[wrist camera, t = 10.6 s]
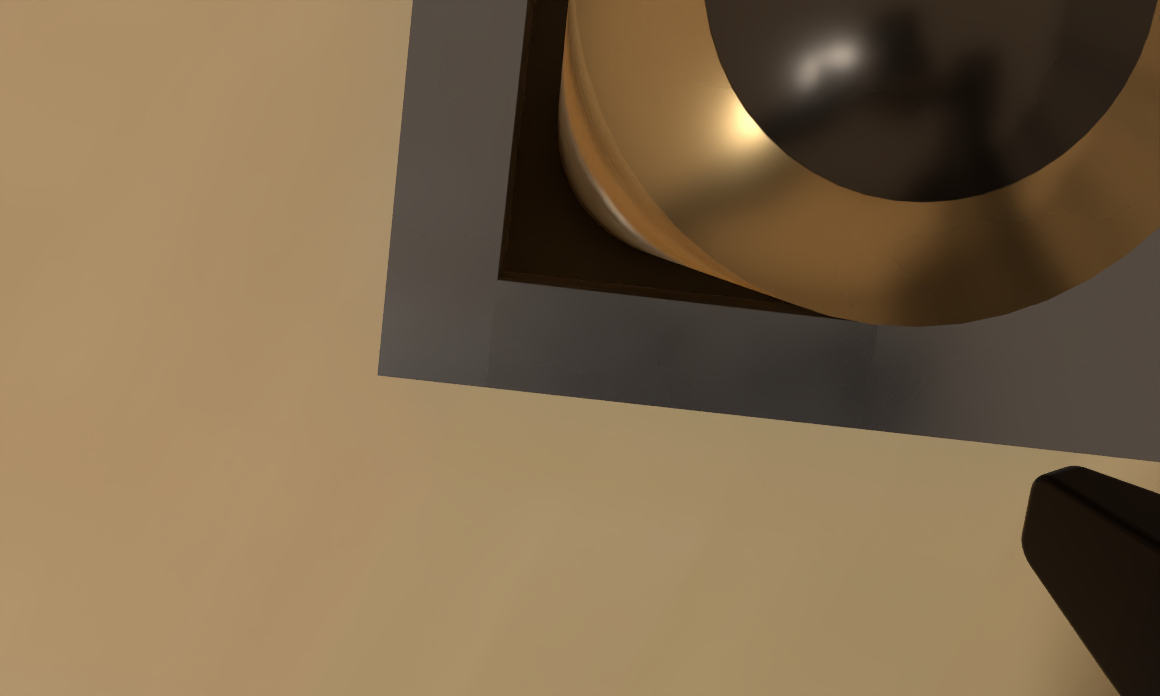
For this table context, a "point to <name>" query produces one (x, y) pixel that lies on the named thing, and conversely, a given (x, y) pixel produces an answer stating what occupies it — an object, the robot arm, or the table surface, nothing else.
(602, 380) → the frame
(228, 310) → the table surface
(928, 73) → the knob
